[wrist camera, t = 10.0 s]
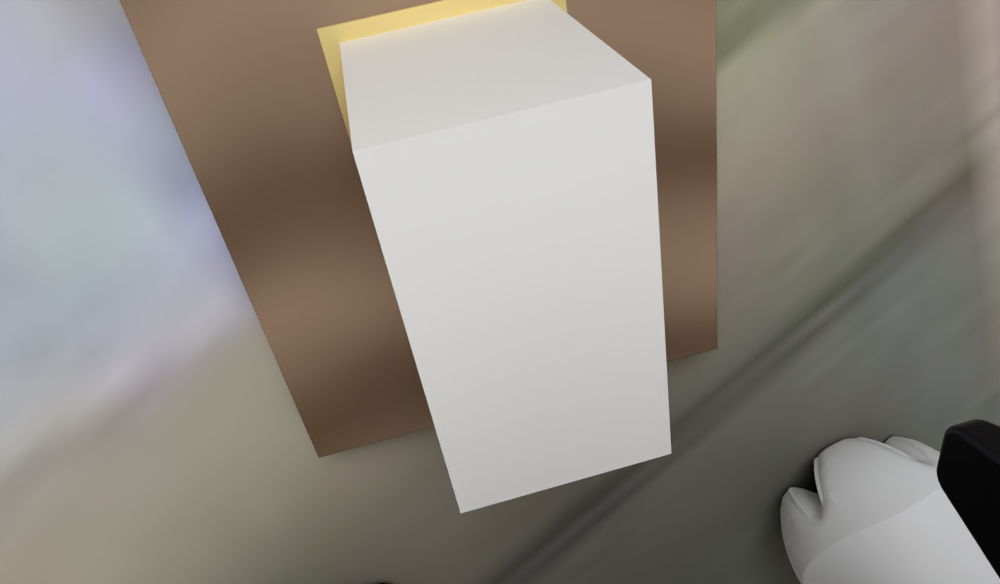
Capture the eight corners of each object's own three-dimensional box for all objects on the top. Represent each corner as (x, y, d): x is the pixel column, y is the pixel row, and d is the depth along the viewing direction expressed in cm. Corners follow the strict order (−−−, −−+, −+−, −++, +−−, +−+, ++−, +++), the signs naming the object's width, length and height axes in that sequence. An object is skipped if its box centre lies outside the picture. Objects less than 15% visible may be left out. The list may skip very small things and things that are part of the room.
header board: (696, 320, 24) (778, 428, 19) (318, 422, 23) (319, 558, 18) (683, -212, 16) (815, -220, 12) (103, -90, 15) (22, -52, 11)
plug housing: (583, 296, 20) (670, 453, 15) (423, 338, 20) (460, 513, 15) (545, -5, 16) (651, 79, 11) (339, 42, 15) (352, 151, 10)
